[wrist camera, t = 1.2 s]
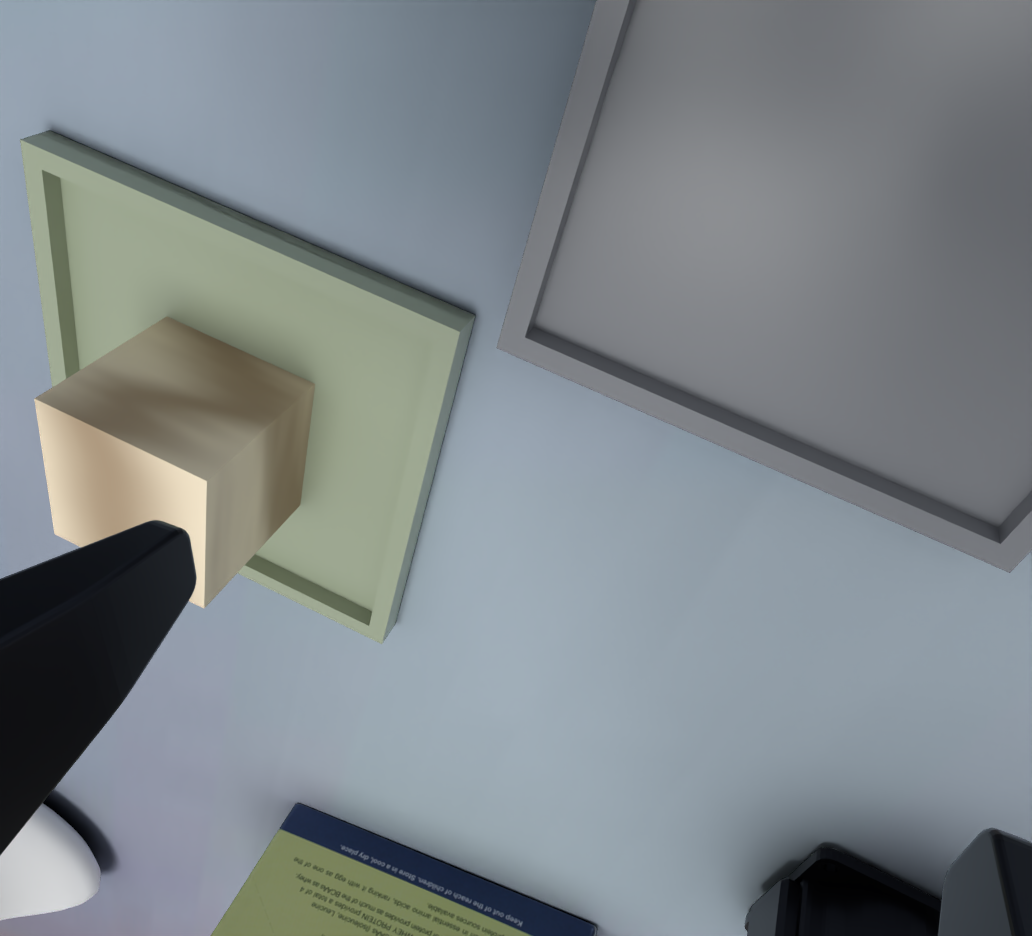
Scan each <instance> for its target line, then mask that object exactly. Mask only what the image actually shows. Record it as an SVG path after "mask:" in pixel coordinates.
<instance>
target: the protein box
mask: <svg viewBox="0 0 1032 936" xmlns="http://www.w3.org/2000/svg"><path fill="white" fill-rule="evenodd" d="M596 933H597V928H596V927H595V926H594V925H592V924H590V923H587V922H585V921H583V920H580V919H578V918H576V917H573V916H571V915H568V914H566V913H564V912H561V911H559V910H556V909H554V908H552V907H549V906H547V905H544V904H542V903H540V902H537V901H535V900H532V899H530V898H527V897H525V896H522V895H520V894H518V893H515V892H513V891H510V890H508V889H505V888H503V887H500V886H498V885H496V884H493V883H491V882H488V881H486V880H483V879H481V878H478V877H476V876H474V875H471V874H469V873H466V872H464V871H461V870H459V869H457V868H454V867H452V866H449V865H447V864H445V863H442V862H440V861H437V860H435V859H433V858H430V857H428V856H425V855H423V854H421V853H418V852H416V851H413V850H411V849H408V848H406V847H404V846H401V845H399V844H396V843H394V842H392V841H389V840H387V839H385V838H382V837H380V836H377V835H375V834H373V833H370V832H368V831H365V830H363V829H360V828H358V827H355V826H353V825H351V824H348V823H346V822H343V821H341V820H338V819H336V818H334V817H331V816H329V815H326V814H324V813H322V812H319V811H317V810H315V809H312V808H310V807H307V806H305V805H302V804H299V803H298V804H295V805H294V807H293V809H292V810H291V812H290V813H289V815H288V816H287V818H286V819H285V821H284V822H283V824H282V825H281V827H280V829H279V830H278V832H277V833H276V835H275V836H274V838H273V839H272V841H271V842H270V844H269V846H268V847H267V849H266V850H265V852H264V853H263V855H262V857H261V858H260V860H259V861H258V863H257V864H256V866H255V867H254V869H253V871H252V872H251V874H250V875H249V877H248V879H247V880H246V882H245V883H244V885H243V886H242V888H241V890H240V891H239V893H238V894H237V896H236V897H235V899H234V900H233V902H232V904H231V905H230V907H229V908H228V910H227V911H226V913H225V914H224V916H223V917H222V919H221V921H220V922H219V924H218V925H217V927H216V928H215V930H214V931H213V933H212V934H211V936H596Z"/></svg>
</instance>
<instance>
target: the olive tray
mask: <svg viewBox="0 0 1032 936" xmlns="http://www.w3.org/2000/svg"><path fill="white" fill-rule="evenodd" d="M20 142H21V150H22V157H23V165H24V173H25V180H26V188H27V196H28V204H29V211H30V219H31V227H32V234H33V242H34V250H35V257H36V265H37V273H38V281H39V288H40V296H41V304H42V311H43V319H44V327H45V334H46V342H47V350H48V357H49V365H50V373H51V381H52V387H54V386H56V385H57V384H59V383H60V382H62V381H64V380H65V379H67V378H68V377H70V376H72V375H73V374H75V373H76V372H78V371H80V370H81V369H83V368H85V367H86V366H88V365H89V364H91V363H93V362H94V361H96V360H97V359H99V358H101V357H102V356H104V355H105V354H107V353H109V352H110V351H112V350H114V349H115V348H117V347H118V346H120V345H122V344H123V343H125V342H126V341H128V340H130V339H131V338H133V337H134V336H136V335H138V334H139V333H141V332H142V331H144V330H146V329H147V328H149V327H151V326H152V325H154V324H155V323H157V322H159V321H160V320H162V319H163V318H165V317H169V318H171V319H174V320H176V321H178V322H180V323H182V324H185V325H187V326H189V327H191V328H193V329H196V330H198V331H200V332H202V333H204V334H207V335H209V336H211V337H213V338H215V339H218V340H220V341H222V342H224V343H226V344H229V345H231V346H233V347H235V348H237V349H239V350H242V351H244V352H246V353H248V354H250V355H253V356H255V357H257V358H259V359H261V360H264V361H266V362H268V363H270V364H272V365H275V366H277V367H279V368H281V369H283V370H286V371H288V372H290V373H292V374H294V375H297V376H299V377H301V378H303V379H305V380H308V381H310V382H312V383H314V384H315V390H314V398H313V406H312V414H311V422H310V430H309V439H308V447H307V455H306V463H305V471H304V479H303V487H302V495H301V504H300V506H299V507H298V508H297V509H296V510H295V511H294V512H293V514H292V515H291V516H290V517H289V518H288V519H287V520H286V521H285V522H284V523H283V524H282V525H281V526H280V528H279V529H278V530H277V531H276V532H275V533H274V534H273V535H272V536H271V537H270V538H269V539H268V540H267V542H266V543H265V544H264V545H263V546H262V547H261V548H260V549H259V550H258V551H257V552H256V553H255V554H254V556H253V557H252V558H251V559H250V560H249V561H248V562H247V563H246V564H245V565H244V566H243V567H242V568H241V570H240V571H239V572H238V574H240V575H242V576H244V577H246V578H248V579H250V580H252V581H255V582H257V583H259V584H261V585H263V586H265V587H267V588H269V589H271V590H273V591H275V592H277V593H279V594H281V595H283V596H285V597H287V598H289V599H291V600H293V601H295V602H297V603H299V604H301V605H303V606H305V607H307V608H310V609H312V610H314V611H316V612H318V613H320V614H322V615H324V616H326V617H328V618H330V619H332V620H334V621H336V622H338V623H340V624H342V625H344V626H346V627H348V628H350V629H352V630H354V631H356V632H358V633H360V634H362V635H365V636H367V637H369V638H371V639H373V640H375V641H377V642H379V643H381V644H382V643H383V642H384V640H385V639H386V637H387V636H388V634H389V633H390V631H391V630H392V628H393V627H394V625H395V623H396V619H397V615H398V611H399V608H400V604H401V600H402V596H403V592H404V588H405V585H406V581H407V577H408V573H409V569H410V565H411V561H412V558H413V554H414V550H415V546H416V542H417V538H418V535H419V531H420V527H421V523H422V519H423V515H424V511H425V508H426V504H427V500H428V496H429V492H430V488H431V485H432V481H433V477H434V473H435V469H436V465H437V461H438V458H439V454H440V450H441V446H442V442H443V438H444V434H445V431H446V427H447V423H448V419H449V415H450V411H451V408H452V404H453V400H454V396H455V392H456V388H457V384H458V381H459V377H460V373H461V369H462V365H463V361H464V358H465V354H466V350H467V346H468V342H469V338H470V334H471V331H472V327H473V323H474V319H475V315H473V314H471V313H469V312H466V311H464V310H462V309H459V308H457V307H455V306H452V305H450V304H448V303H446V302H443V301H441V300H439V299H436V298H434V297H432V296H429V295H427V294H425V293H422V292H420V291H418V290H416V289H413V288H411V287H409V286H406V285H404V284H402V283H399V282H397V281H395V280H393V279H390V278H388V277H386V276H383V275H381V274H379V273H376V272H374V271H372V270H370V269H367V268H365V267H363V266H360V265H358V264H356V263H353V262H351V261H349V260H346V259H344V258H342V257H340V256H337V255H335V254H333V253H330V252H328V251H326V250H323V249H321V248H319V247H317V246H314V245H312V244H310V243H307V242H305V241H303V240H300V239H298V238H296V237H294V236H291V235H289V234H287V233H284V232H282V231H280V230H277V229H275V228H273V227H270V226H268V225H266V224H264V223H261V222H259V221H257V220H254V219H252V218H250V217H247V216H245V215H243V214H241V213H238V212H236V211H234V210H231V209H229V208H227V207H224V206H222V205H220V204H218V203H215V202H213V201H211V200H208V199H206V198H204V197H201V196H199V195H197V194H195V193H192V192H190V191H188V190H185V189H183V188H181V187H178V186H176V185H174V184H171V183H169V182H167V181H165V180H162V179H160V178H158V177H155V176H153V175H151V174H148V173H146V172H144V171H142V170H139V169H137V168H135V167H132V166H130V165H128V164H125V163H123V162H121V161H119V160H116V159H114V158H112V157H109V156H107V155H105V154H102V153H100V152H98V151H95V150H93V149H91V148H89V147H86V146H84V145H82V144H79V143H77V142H75V141H72V140H70V139H68V138H66V137H63V136H61V135H59V134H56V133H54V132H52V131H46V132H43V133H39V134H36V135H33V136H30V137H27V138H24V139H20Z"/></svg>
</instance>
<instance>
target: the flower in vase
mask: <svg viewBox="0 0 1032 936" xmlns="http://www.w3.org/2000/svg"><path fill="white" fill-rule="evenodd" d="M100 878H101V871H100V868H99V865H98V863H97V861H96V859H95V857H94V855H93V853H92V852H91V850H90V848H89V847H88V845H87V844H86V842H85V841H84V840H83V838H82V837H81V836H80V835H79V834H78V833H77V832H76V830H75V829H74V828H72V827H71V826H70V825H69V824H68V823H67V822H66V821H65V820H64V819H63V818H62V817H60V816H59V815H58V814H57V813H55V812H54V811H53V810H51V809H50V808H49V807H47V806H46V805H44V804H43V803H42V804H41V806H40V807H39V808H38V809H37V811H36V812H35V813H34V814H33V816H32V817H31V818H30V819H29V821H28V822H27V823H26V824H25V826H24V827H23V828H22V829H21V831H20V832H19V833H18V834H17V836H16V837H15V838H14V839H13V840H12V842H11V843H10V844H9V845H8V847H7V848H6V849H5V850H4V852H3V853H2V854H1V855H0V920H4V919H9V918H15V917H22V916H29V915H37V914H43V913H49V912H55V911H60V910H64V909H67V908H71V907H74V906H78V905H81V904H83V903H84V902H86V901H87V900H88V899H90V898H91V897H93V896H94V895H95V894H97V892H98V890H99V885H100Z"/></svg>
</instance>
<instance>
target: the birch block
mask: <svg viewBox="0 0 1032 936" xmlns="http://www.w3.org/2000/svg"><path fill="white" fill-rule="evenodd" d="M314 390H315V384H314V383H312V382H310V381H308V380H305V379H303V378H301V377H299V376H297V375H294V374H292V373H290V372H288V371H286V370H283V369H281V368H279V367H277V366H275V365H272V364H270V363H268V362H266V361H264V360H261V359H259V358H257V357H255V356H253V355H250V354H248V353H246V352H244V351H242V350H239V349H237V348H235V347H233V346H231V345H229V344H226V343H224V342H222V341H220V340H218V339H215V338H213V337H211V336H209V335H207V334H204V333H202V332H200V331H198V330H196V329H193V328H191V327H189V326H187V325H185V324H182V323H180V322H178V321H176V320H174V319H171V318H169V317H165V318H163V319H162V320H160V321H159V322H157V323H155V324H154V325H152V326H151V327H149V328H147V329H146V330H144V331H142V332H141V333H139V334H138V335H136V336H134V337H133V338H131V339H130V340H128V341H126V342H125V343H123V344H122V345H120V346H118V347H117V348H115V349H114V350H112V351H110V352H109V353H107V354H105V355H104V356H102V357H101V358H99V359H97V360H96V361H94V362H93V363H91V364H89V365H88V366H86V367H85V368H83V369H81V370H80V371H78V372H76V373H75V374H73V375H72V376H70V377H68V378H67V379H65V380H64V381H62V382H60V383H59V384H57V385H56V386H54V387H52V388H51V389H49V390H48V391H46V392H44V393H43V394H41V395H39V396H38V397H36V398H35V406H36V412H37V419H38V426H39V432H40V439H41V446H42V453H43V459H44V466H45V473H46V479H47V486H48V493H49V500H50V506H51V513H52V520H53V527H54V533H55V534H56V535H58V536H60V537H62V538H64V539H66V540H68V541H70V542H72V543H74V544H76V545H78V546H80V547H83V546H86V545H88V544H91V543H93V542H96V541H99V540H101V539H104V538H106V537H109V536H111V535H114V534H117V533H119V532H122V531H124V530H127V529H129V528H132V527H134V526H137V525H140V524H142V523H145V522H148V521H152V520H160V521H164V522H166V523H169V524H172V525H174V526H177V527H180V528H182V529H184V530H185V531H186V532H187V533H188V534H189V537H190V540H191V546H192V552H193V558H194V563H195V569H196V576H197V580H196V586H195V589H194V592H193V594H192V596H191V598H190V600H189V601H190V602H192V603H194V604H196V605H198V606H200V607H202V608H205V607H206V606H207V605H208V604H209V603H210V602H211V601H212V600H213V599H214V598H215V596H216V595H217V594H218V593H219V592H220V591H221V590H222V589H223V588H224V587H225V586H226V585H227V584H228V582H229V581H230V580H231V579H232V578H233V577H234V576H235V575H236V574H237V573H238V572H239V571H240V570H241V568H242V567H243V566H244V565H245V564H246V563H247V562H248V561H249V560H250V559H251V558H252V557H253V556H254V554H255V553H256V552H257V551H258V550H259V549H260V548H261V547H262V546H263V545H264V544H265V543H266V542H267V540H268V539H269V538H270V537H271V536H272V535H273V534H274V533H275V532H276V531H277V530H278V529H279V528H280V526H281V525H282V524H283V523H284V522H285V521H286V520H287V519H288V518H289V517H290V516H291V515H292V514H293V512H294V511H295V510H296V509H297V508H298V507H299V506H300V504H301V495H302V487H303V479H304V471H305V463H306V455H307V447H308V439H309V430H310V422H311V414H312V406H313V398H314Z"/></svg>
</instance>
